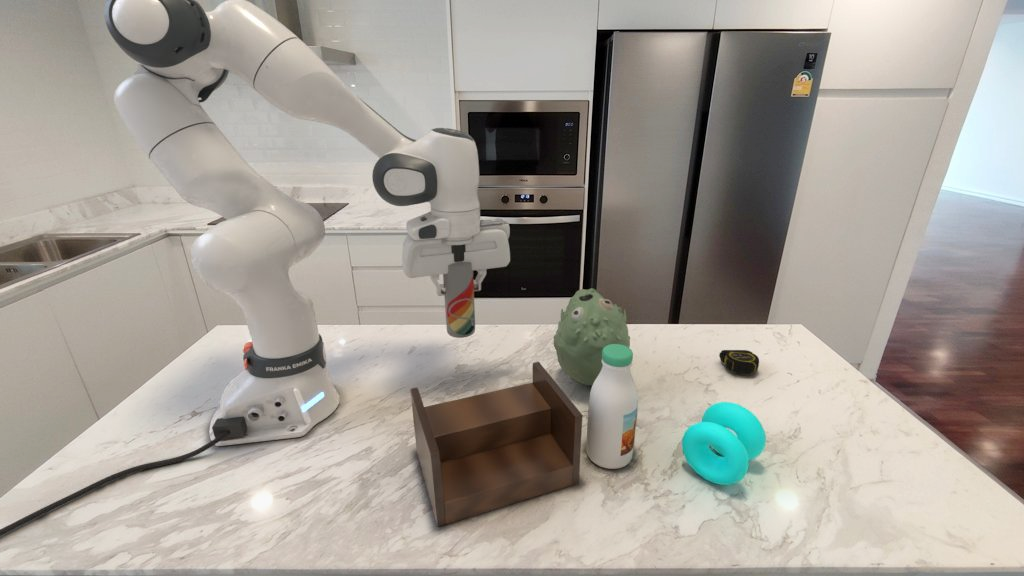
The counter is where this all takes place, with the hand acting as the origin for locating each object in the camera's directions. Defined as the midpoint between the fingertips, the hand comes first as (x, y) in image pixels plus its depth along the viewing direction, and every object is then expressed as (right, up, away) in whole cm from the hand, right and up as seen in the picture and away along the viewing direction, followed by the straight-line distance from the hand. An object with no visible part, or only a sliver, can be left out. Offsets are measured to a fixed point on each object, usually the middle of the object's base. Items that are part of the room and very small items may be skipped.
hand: (458, 292), depth 92 cm
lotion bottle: (0, -8, +3) cm, 9 cm away
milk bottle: (+27, -27, -12) cm, 40 cm away
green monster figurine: (+27, -19, +9) cm, 34 cm away
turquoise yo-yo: (+44, -28, -15) cm, 54 cm away
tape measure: (+60, -17, +13) cm, 63 cm away
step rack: (+7, -28, -14) cm, 33 cm away
